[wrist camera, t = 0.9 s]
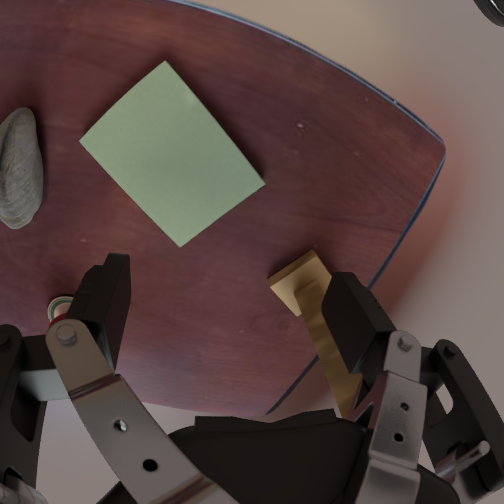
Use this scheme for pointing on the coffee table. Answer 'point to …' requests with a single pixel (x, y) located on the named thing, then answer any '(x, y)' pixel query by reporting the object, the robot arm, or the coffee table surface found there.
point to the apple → (59, 309)
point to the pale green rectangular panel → (171, 155)
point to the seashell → (19, 169)
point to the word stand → (316, 320)
